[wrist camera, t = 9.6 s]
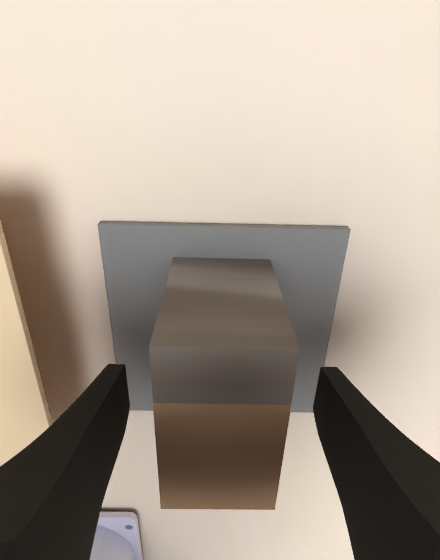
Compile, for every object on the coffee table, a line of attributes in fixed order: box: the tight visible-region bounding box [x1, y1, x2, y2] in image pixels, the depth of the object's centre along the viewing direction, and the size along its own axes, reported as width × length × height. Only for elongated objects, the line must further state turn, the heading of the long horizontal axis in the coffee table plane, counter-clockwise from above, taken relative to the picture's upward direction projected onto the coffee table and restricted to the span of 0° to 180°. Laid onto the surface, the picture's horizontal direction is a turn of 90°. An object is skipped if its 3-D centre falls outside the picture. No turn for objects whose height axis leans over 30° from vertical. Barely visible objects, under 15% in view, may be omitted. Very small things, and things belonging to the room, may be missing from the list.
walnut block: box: [149, 257, 300, 510], centre depth 14 cm, size 7×4×6 cm, turn 178°
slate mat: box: [98, 221, 350, 412], centre depth 17 cm, size 10×10×1 cm
